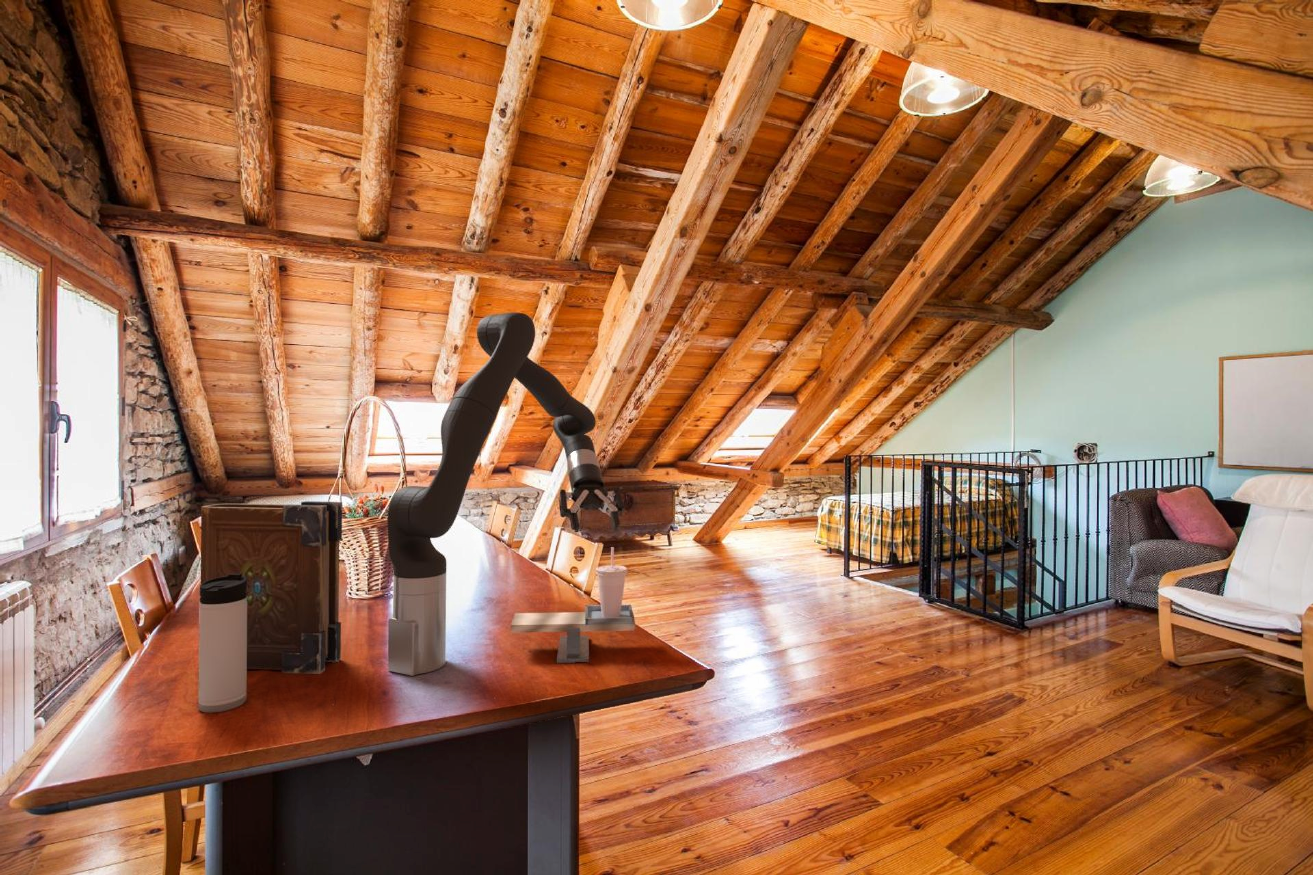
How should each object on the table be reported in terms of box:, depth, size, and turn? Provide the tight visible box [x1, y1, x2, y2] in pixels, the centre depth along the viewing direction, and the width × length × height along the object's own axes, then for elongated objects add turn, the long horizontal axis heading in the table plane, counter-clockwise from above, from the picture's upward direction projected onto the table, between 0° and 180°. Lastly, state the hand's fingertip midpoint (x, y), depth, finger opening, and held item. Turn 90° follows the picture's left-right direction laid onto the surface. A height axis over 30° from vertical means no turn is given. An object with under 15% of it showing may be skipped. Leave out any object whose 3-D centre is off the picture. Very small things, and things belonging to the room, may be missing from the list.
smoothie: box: [595, 546, 628, 618], centre depth 128 cm, size 6×6×14 cm
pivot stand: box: [556, 627, 590, 664], centre depth 127 cm, size 6×14×6 cm, turn 7°
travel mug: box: [197, 574, 248, 714], centre depth 100 cm, size 6×7×20 cm
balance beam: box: [510, 604, 636, 634], centre depth 127 cm, size 24×10×3 cm, turn 96°
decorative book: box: [200, 500, 343, 675], centre depth 117 cm, size 23×7×30 cm, turn 88°
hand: (596, 529), depth 138 cm, fingers open, 8 cm apart
